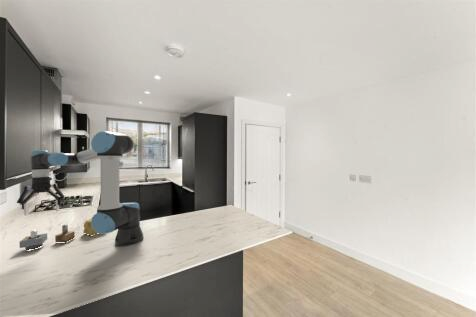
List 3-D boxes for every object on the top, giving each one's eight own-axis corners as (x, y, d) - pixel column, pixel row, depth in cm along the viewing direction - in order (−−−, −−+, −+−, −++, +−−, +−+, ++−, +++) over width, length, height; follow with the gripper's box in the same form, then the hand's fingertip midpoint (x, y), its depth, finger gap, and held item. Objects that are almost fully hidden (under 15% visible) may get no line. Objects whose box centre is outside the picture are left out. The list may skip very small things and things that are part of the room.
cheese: (83, 234, 132) (82, 220, 132) (100, 229, 142) (100, 215, 142) (91, 237, 127) (90, 221, 127) (108, 231, 137) (108, 217, 137)
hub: (46, 245, 116) (45, 228, 116) (34, 251, 109) (33, 233, 109) (34, 246, 115) (33, 229, 116) (21, 251, 108) (21, 233, 109)
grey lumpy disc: (47, 238, 118) (47, 233, 118) (42, 244, 111) (42, 237, 111) (26, 242, 114) (26, 236, 114) (19, 248, 106) (19, 241, 106)
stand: (74, 239, 125) (74, 223, 125) (66, 243, 118) (65, 226, 118) (64, 239, 124) (64, 223, 125) (55, 243, 118) (55, 227, 118)
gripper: (70, 174, 123) (71, 208, 123) (15, 178, 112) (16, 215, 112) (66, 175, 116) (67, 210, 116) (7, 179, 105) (8, 218, 105)
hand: (42, 212), depth 114 cm, fingers open, 13 cm apart
